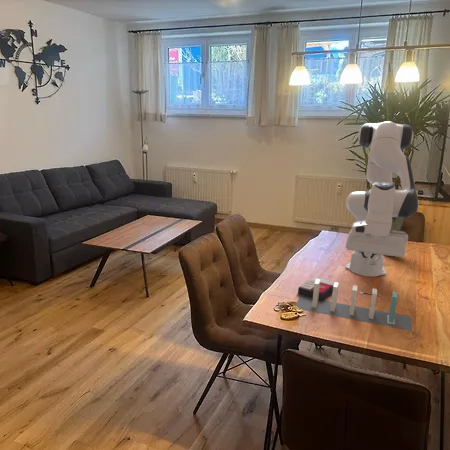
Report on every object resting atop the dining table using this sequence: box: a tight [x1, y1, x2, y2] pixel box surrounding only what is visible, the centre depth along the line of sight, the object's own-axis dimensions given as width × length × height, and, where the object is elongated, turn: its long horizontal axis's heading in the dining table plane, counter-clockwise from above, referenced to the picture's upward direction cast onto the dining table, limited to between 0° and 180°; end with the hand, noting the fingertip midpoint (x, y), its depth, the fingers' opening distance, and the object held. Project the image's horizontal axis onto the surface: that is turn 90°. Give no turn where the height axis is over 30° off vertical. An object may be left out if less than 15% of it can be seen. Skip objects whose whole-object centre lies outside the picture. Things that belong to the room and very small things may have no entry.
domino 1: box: [312, 278, 321, 308], centre depth 163 cm, size 2×5×10 cm, turn 160°
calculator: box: [297, 276, 335, 301], centre depth 177 cm, size 11×4×15 cm
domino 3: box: [349, 284, 359, 315], centre depth 159 cm, size 2×5×10 cm, turn 160°
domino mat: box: [294, 295, 413, 332], centre depth 160 cm, size 12×42×1 cm, turn 70°
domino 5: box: [389, 291, 398, 323], centre depth 154 cm, size 2×5×10 cm, turn 160°
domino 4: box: [369, 288, 378, 319], centre depth 157 cm, size 2×5×10 cm, turn 160°
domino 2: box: [330, 281, 340, 312], centre depth 161 cm, size 2×5×10 cm, turn 160°
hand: (372, 264), depth 153 cm, fingers closed
